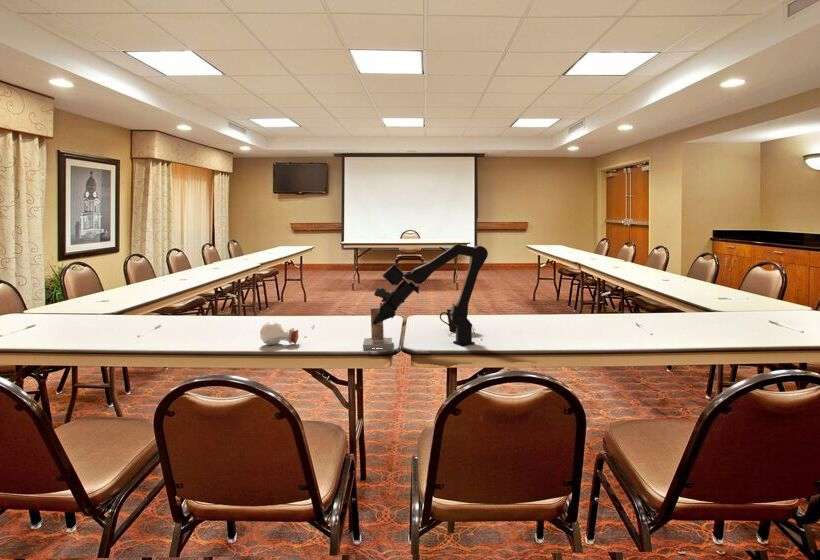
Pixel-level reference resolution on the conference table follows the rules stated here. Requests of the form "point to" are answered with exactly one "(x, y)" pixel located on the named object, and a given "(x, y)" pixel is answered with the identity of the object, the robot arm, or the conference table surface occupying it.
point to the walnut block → (376, 325)
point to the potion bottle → (277, 334)
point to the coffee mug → (449, 320)
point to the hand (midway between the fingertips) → (373, 322)
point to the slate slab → (377, 343)
